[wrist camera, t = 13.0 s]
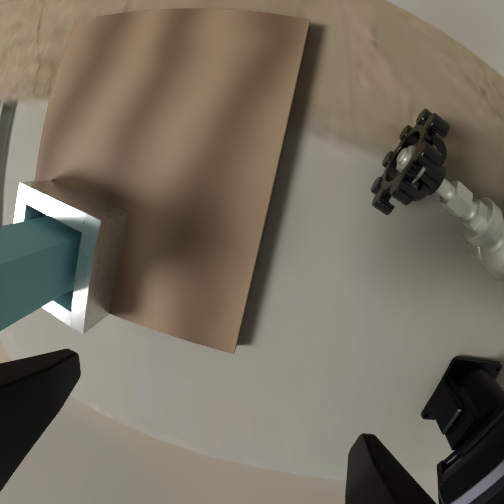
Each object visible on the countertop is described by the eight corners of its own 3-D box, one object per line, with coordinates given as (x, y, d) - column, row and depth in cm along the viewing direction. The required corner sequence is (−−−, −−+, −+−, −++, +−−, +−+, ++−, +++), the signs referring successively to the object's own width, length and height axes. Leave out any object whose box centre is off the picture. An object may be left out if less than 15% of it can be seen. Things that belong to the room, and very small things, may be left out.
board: (309, 27, 16) (309, 19, 15) (236, 345, 22) (233, 353, 21) (82, 25, 18) (75, 21, 16) (40, 276, 23) (32, 280, 22)
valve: (515, 217, 17) (405, 118, 17) (570, 232, 10) (450, 95, 10) (477, 289, 19) (359, 201, 19) (525, 324, 12) (390, 211, 12)
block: (99, 231, 20) (-23, 273, 9) (90, 279, 21) (-17, 341, 10) (62, 212, 20) (-55, 241, 10) (55, 259, 21) (-50, 304, 11)
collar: (130, 213, 19) (101, 220, 16) (108, 314, 21) (83, 334, 18) (50, 179, 20) (19, 182, 16) (37, 272, 22) (10, 283, 18)
